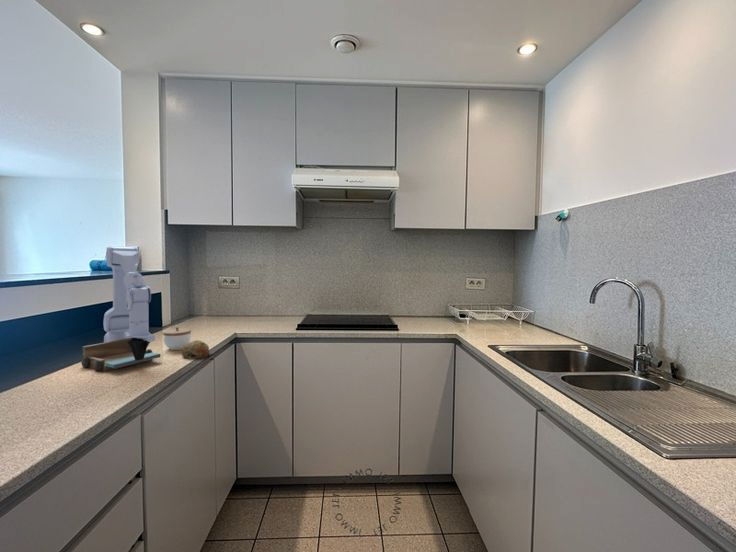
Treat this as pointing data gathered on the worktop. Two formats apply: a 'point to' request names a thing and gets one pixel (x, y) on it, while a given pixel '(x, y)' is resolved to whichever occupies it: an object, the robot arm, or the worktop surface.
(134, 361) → the tailgate
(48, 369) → the worktop surface
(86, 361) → the cart bed
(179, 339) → the lidded jar
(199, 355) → the bread roll
